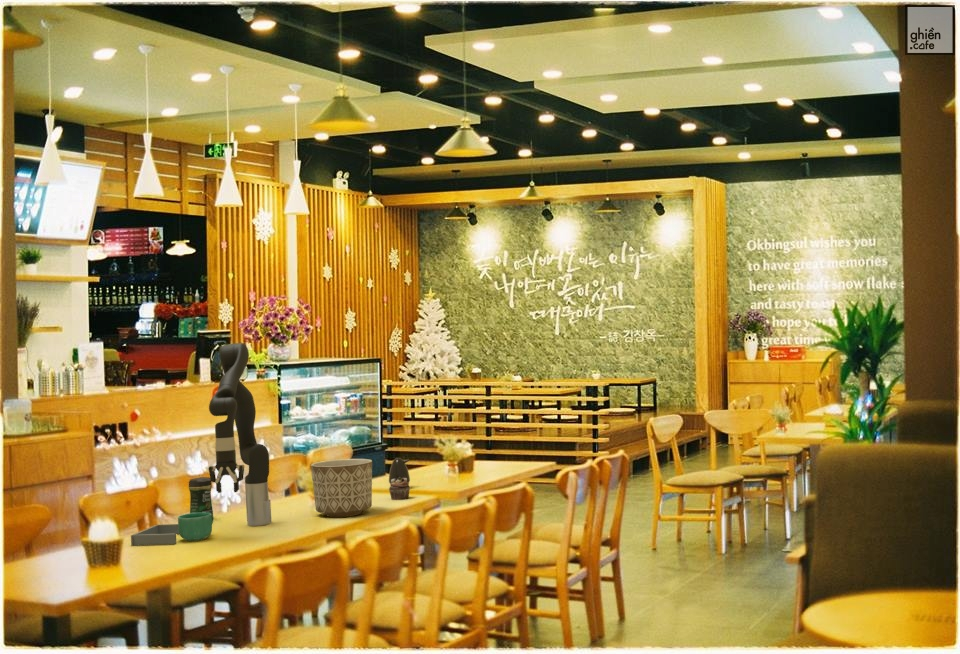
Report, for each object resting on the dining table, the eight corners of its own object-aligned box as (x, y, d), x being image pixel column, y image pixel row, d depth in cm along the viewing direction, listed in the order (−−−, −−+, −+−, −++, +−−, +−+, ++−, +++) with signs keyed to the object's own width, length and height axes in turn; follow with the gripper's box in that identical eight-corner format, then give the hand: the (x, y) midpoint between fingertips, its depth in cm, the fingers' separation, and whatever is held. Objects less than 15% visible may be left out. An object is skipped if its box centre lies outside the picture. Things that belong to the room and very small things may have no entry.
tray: (198, 533, 460) (198, 523, 460) (175, 544, 437) (174, 534, 437) (156, 534, 463) (156, 524, 463) (131, 545, 439) (130, 535, 439)
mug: (196, 543, 437) (194, 518, 437) (172, 541, 444) (170, 517, 444) (226, 535, 452) (225, 511, 452) (202, 534, 458) (201, 510, 458)
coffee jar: (199, 523, 486) (197, 479, 486) (187, 522, 491) (184, 478, 491) (217, 519, 494) (214, 476, 494) (204, 518, 499) (201, 475, 499)
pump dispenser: (409, 489, 554) (408, 458, 554) (388, 491, 554) (386, 459, 554) (411, 486, 564) (409, 456, 564) (390, 488, 565) (388, 457, 565)
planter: (357, 507, 508) (354, 457, 508) (385, 513, 486) (382, 461, 486) (303, 514, 494) (300, 463, 494) (329, 521, 472) (327, 468, 472)
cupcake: (414, 497, 528) (413, 475, 528) (402, 500, 520) (400, 478, 520) (397, 496, 533) (396, 475, 533) (385, 500, 525) (383, 478, 525)
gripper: (246, 447, 449) (248, 490, 449) (211, 448, 451) (213, 491, 451) (239, 449, 441) (242, 493, 441) (204, 450, 443) (206, 494, 443)
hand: (227, 492), depth 446 cm, fingers open, 6 cm apart
